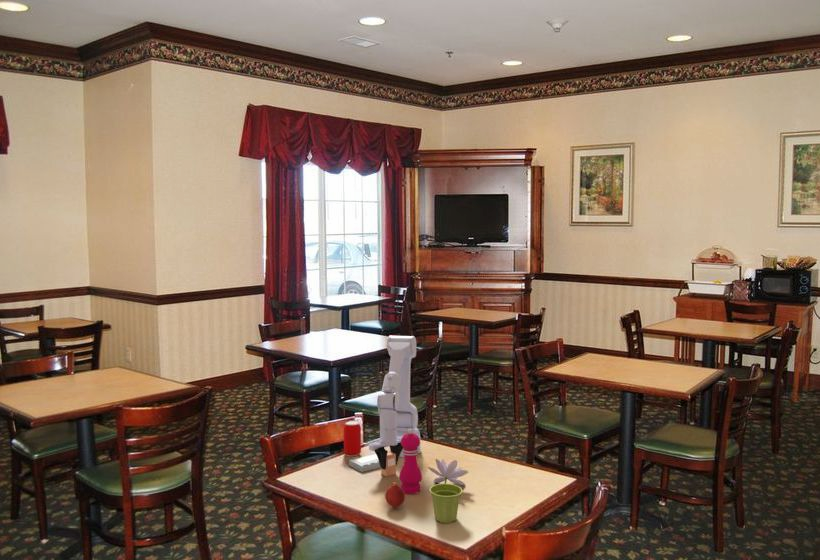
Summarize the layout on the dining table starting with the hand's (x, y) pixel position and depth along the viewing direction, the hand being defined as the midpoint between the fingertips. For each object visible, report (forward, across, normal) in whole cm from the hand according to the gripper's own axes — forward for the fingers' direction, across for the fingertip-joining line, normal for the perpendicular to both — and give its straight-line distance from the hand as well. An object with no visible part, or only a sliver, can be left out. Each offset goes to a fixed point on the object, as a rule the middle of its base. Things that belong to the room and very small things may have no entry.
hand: (388, 467), depth 234 cm
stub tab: (+2, 0, 0) cm, 2 cm away
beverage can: (+3, +1, +24) cm, 24 cm away
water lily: (+3, +9, -21) cm, 23 cm away
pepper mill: (+3, -3, -16) cm, 16 cm away
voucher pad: (+2, 0, +11) cm, 11 cm away
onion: (+3, -15, -24) cm, 28 cm away
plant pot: (+3, -8, -39) cm, 40 cm away
